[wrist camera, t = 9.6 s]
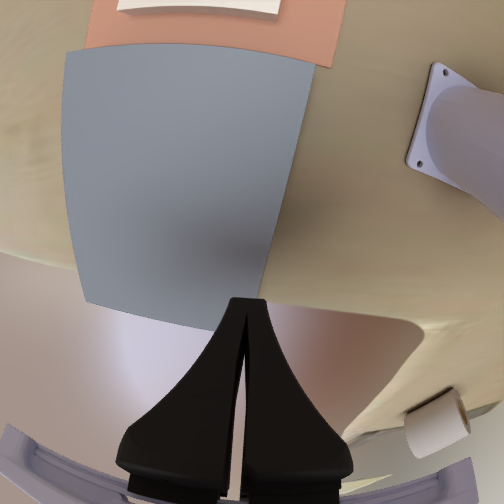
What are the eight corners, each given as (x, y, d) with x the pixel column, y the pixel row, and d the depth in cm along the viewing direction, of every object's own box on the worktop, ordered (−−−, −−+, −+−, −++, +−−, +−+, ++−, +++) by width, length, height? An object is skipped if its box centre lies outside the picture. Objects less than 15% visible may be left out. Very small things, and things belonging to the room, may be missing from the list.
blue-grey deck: (304, 69, 14) (316, 64, 10) (248, 299, 24) (245, 336, 20) (102, 53, 13) (66, 52, 9) (105, 271, 23) (85, 301, 19)
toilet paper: (448, 383, 34) (464, 432, 26) (459, 393, 37) (473, 435, 29) (400, 410, 38) (410, 458, 30) (418, 417, 42) (427, 458, 33)
